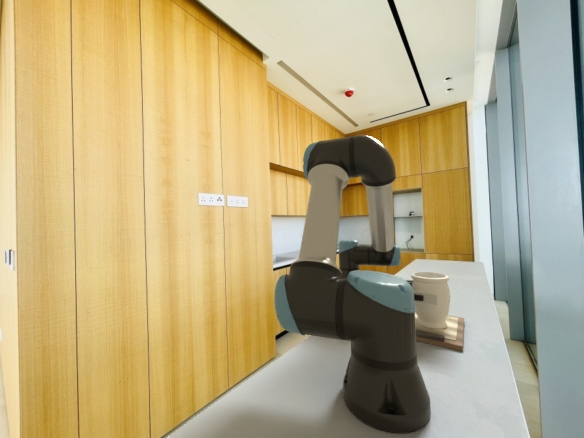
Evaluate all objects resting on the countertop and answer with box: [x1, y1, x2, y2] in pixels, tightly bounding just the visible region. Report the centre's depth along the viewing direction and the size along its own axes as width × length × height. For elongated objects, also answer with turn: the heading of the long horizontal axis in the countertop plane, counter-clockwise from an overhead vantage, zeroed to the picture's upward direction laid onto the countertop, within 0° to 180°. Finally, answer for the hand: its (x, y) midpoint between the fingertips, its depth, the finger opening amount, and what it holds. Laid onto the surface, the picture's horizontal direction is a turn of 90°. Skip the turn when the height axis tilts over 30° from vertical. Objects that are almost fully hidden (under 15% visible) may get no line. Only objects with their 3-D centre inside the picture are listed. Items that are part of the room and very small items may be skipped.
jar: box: [410, 271, 451, 329], centre depth 76 cm, size 11×10×15 cm
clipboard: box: [415, 312, 465, 352], centre depth 76 cm, size 22×16×2 cm
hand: (442, 294), depth 74 cm, fingers open, 13 cm apart
